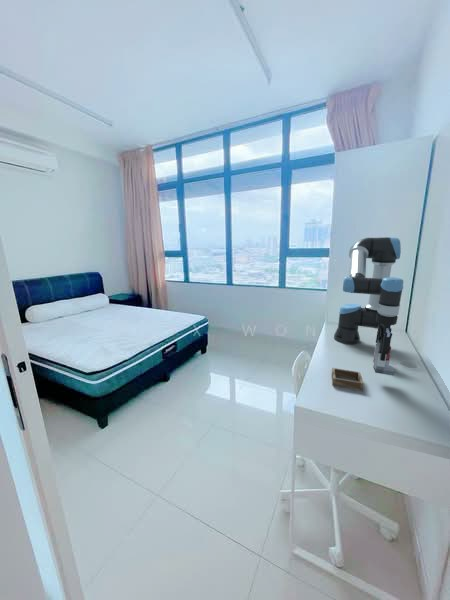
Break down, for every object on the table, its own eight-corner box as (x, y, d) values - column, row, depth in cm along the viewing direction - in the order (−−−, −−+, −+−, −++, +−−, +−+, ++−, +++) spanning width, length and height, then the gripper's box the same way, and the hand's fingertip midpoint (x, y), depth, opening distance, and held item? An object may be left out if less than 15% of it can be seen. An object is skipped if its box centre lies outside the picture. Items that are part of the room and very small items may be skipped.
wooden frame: (331, 374, 119) (332, 367, 118) (359, 379, 115) (360, 372, 114) (332, 385, 110) (333, 378, 109) (362, 390, 106) (363, 383, 105)
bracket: (375, 372, 110) (379, 344, 106) (373, 367, 114) (377, 339, 111) (393, 375, 107) (399, 346, 104) (390, 369, 112) (395, 341, 108)
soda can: (390, 368, 124) (394, 346, 122) (375, 366, 126) (379, 345, 123) (384, 361, 131) (388, 340, 128) (371, 360, 132) (374, 340, 129)
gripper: (373, 307, 114) (366, 353, 120) (381, 319, 98) (373, 371, 104) (391, 308, 112) (384, 355, 117) (404, 321, 95) (394, 375, 101)
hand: (379, 363), depth 111 cm, fingers closed on bracket, 5 cm apart
